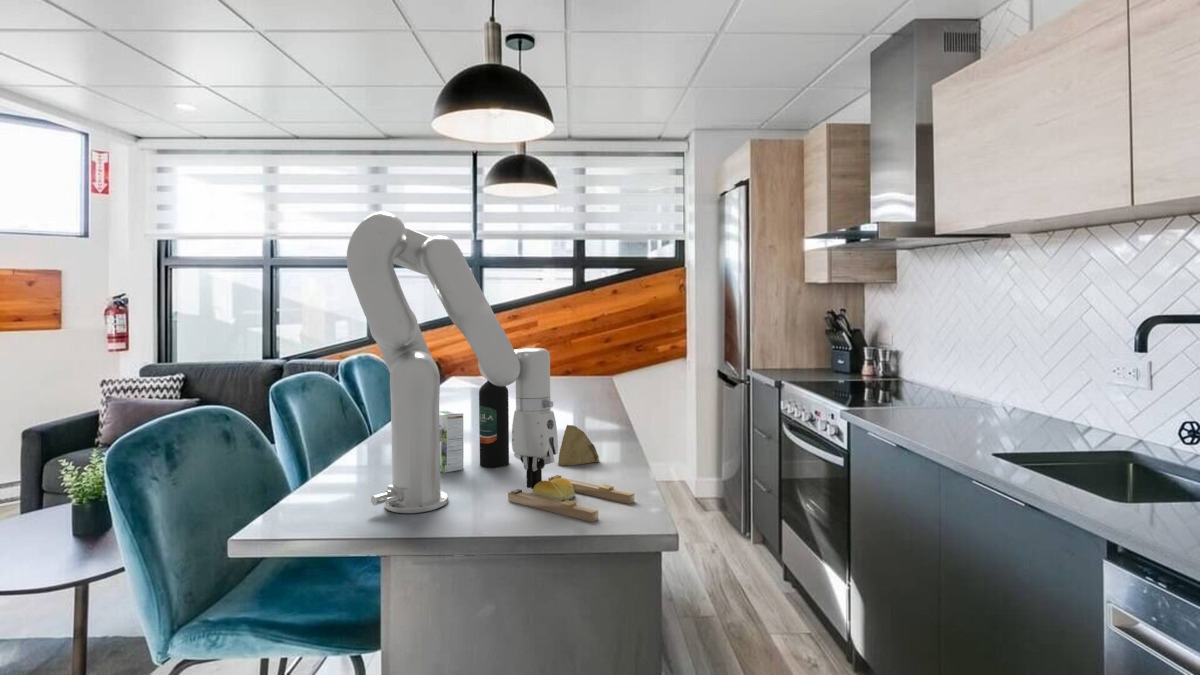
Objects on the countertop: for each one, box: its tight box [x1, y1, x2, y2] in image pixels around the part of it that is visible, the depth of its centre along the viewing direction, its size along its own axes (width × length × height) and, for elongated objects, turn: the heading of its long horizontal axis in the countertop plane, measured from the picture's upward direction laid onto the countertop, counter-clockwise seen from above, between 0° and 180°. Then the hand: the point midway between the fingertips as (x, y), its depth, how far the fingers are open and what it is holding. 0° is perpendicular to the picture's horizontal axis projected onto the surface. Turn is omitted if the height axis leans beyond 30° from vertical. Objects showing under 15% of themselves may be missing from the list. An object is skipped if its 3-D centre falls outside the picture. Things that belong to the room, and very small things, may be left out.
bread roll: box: [531, 477, 576, 502], centre depth 129 cm, size 8×9×4 cm
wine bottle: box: [478, 379, 510, 469], centre depth 156 cm, size 8×8×30 cm
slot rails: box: [507, 474, 635, 523], centre depth 127 cm, size 15×22×2 cm
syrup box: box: [439, 410, 465, 474], centre depth 152 cm, size 6×6×14 cm
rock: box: [557, 424, 600, 467], centre depth 158 cm, size 11×9×10 cm
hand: (534, 486), depth 133 cm, fingers closed
